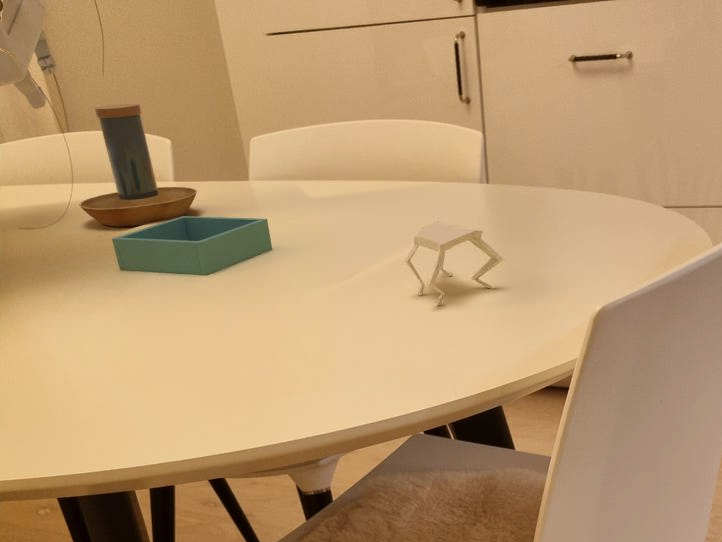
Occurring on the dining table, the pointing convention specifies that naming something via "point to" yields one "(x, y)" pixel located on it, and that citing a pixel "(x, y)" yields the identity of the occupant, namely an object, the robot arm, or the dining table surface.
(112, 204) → the plant saucer
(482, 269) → the cream legged block
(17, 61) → the robot arm
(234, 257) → the green shallow square box
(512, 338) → the dining table surface
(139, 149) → the jar
